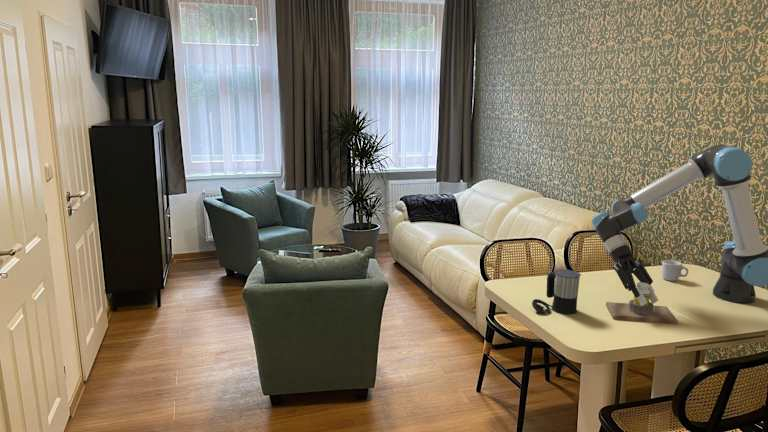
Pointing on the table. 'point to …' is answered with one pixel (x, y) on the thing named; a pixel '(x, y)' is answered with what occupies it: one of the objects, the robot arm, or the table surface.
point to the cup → (672, 270)
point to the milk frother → (561, 292)
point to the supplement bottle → (645, 292)
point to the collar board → (641, 312)
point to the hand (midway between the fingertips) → (650, 303)
